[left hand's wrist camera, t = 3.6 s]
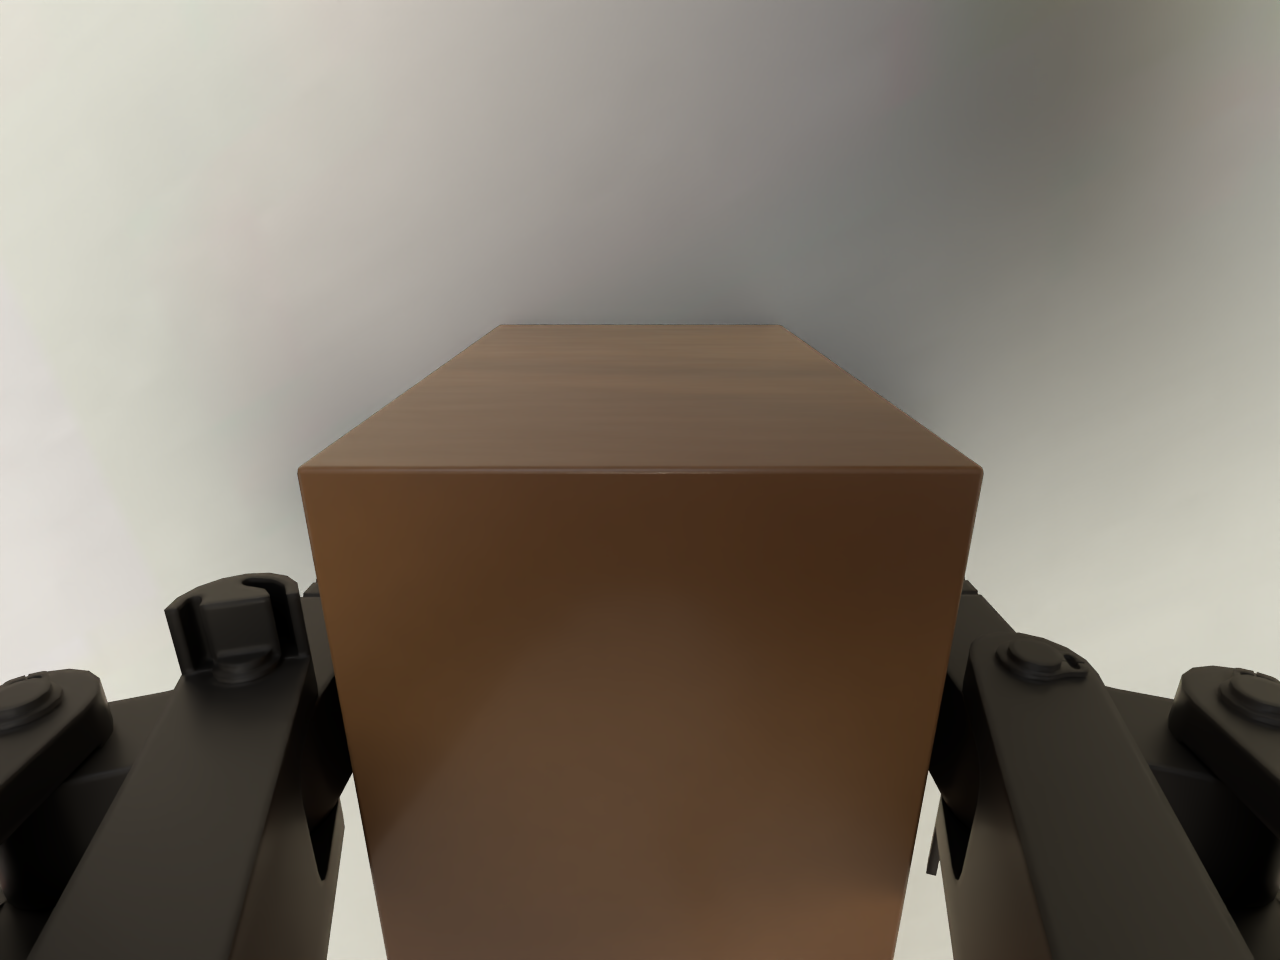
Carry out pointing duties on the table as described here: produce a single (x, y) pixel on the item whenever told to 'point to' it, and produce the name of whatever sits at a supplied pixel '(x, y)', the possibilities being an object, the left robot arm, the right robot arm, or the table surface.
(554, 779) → the bar
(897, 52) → the table surface
